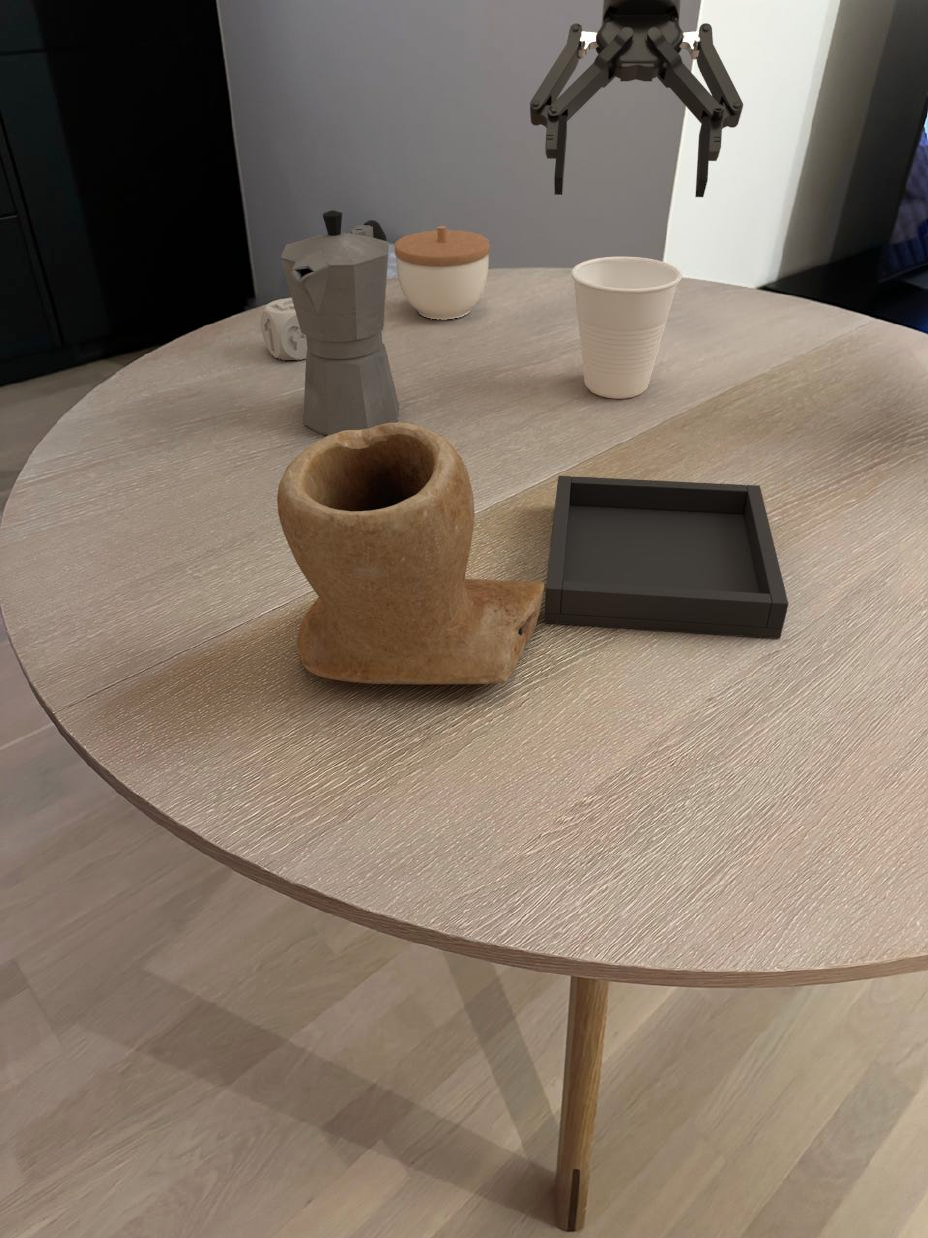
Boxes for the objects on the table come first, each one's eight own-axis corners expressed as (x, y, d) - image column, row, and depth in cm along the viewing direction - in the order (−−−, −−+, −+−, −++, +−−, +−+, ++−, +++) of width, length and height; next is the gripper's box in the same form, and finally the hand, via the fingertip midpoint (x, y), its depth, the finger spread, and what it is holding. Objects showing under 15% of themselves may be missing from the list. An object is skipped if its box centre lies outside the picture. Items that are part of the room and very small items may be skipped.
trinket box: (379, 316, 108) (373, 231, 102) (434, 290, 115) (431, 210, 109) (455, 334, 103) (453, 245, 97) (507, 306, 110) (508, 222, 104)
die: (264, 350, 100) (257, 303, 97) (306, 340, 102) (300, 294, 99) (283, 364, 96) (276, 317, 93) (326, 354, 99) (321, 307, 96)
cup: (552, 400, 88) (557, 282, 82) (580, 362, 96) (587, 251, 89) (655, 415, 85) (669, 294, 79) (676, 374, 93) (691, 261, 86)
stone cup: (275, 715, 54) (231, 489, 45) (322, 596, 63) (294, 389, 54) (535, 733, 53) (544, 503, 43) (544, 608, 62) (553, 397, 53)
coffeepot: (367, 455, 80) (347, 237, 69) (271, 439, 83) (238, 227, 72) (434, 386, 91) (427, 190, 80) (349, 374, 94) (330, 182, 83)
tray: (753, 517, 71) (760, 485, 69) (780, 639, 59) (788, 603, 57) (556, 506, 73) (558, 475, 71) (544, 623, 61) (545, 588, 59)
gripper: (763, 16, 94) (754, 212, 91) (518, 17, 97) (502, 207, 94) (781, -46, 87) (771, 165, 84) (515, -43, 90) (497, 161, 87)
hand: (629, 188), depth 89 cm, fingers open, 13 cm apart
